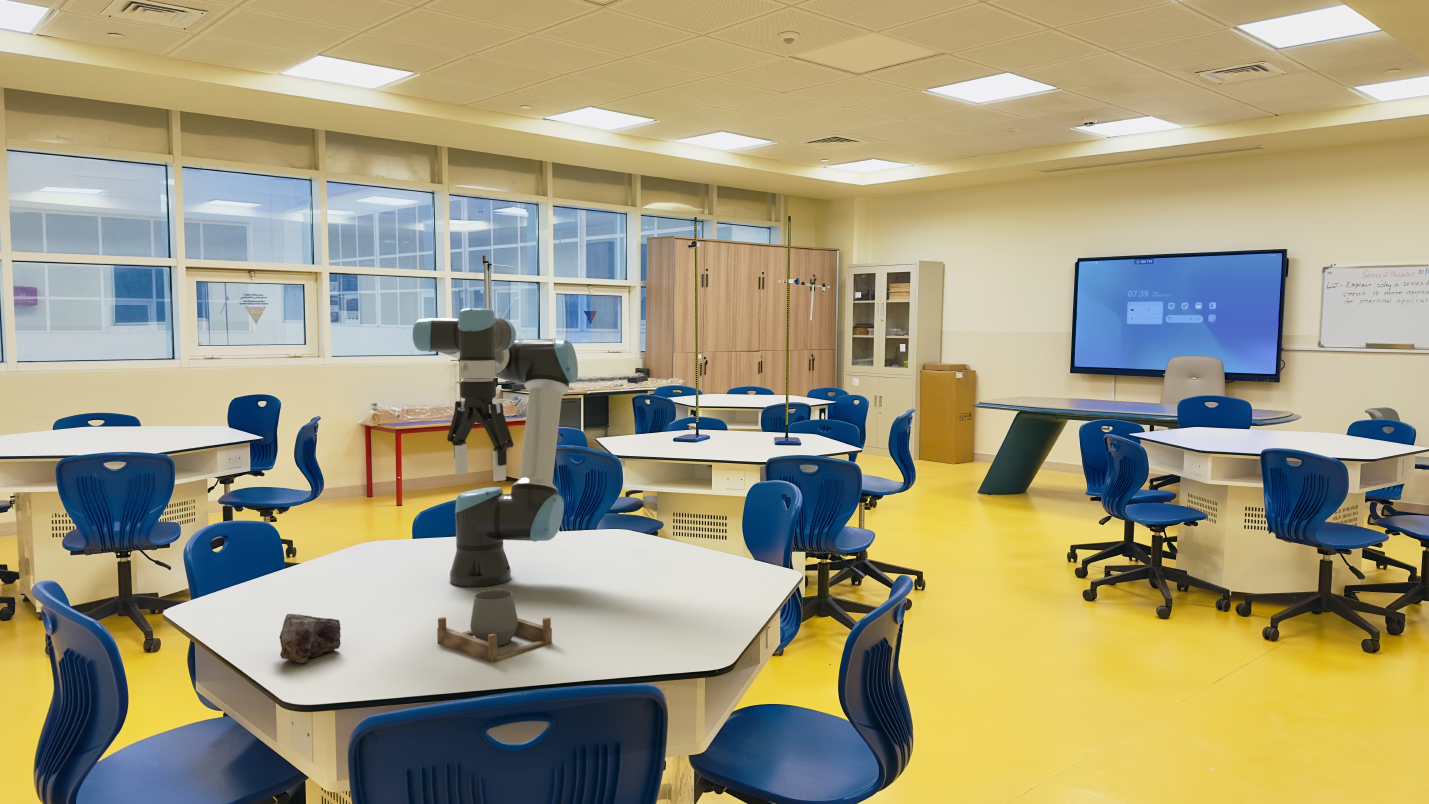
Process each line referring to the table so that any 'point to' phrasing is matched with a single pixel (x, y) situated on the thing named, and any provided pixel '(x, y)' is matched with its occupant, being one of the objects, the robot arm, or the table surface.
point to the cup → (494, 615)
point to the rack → (494, 639)
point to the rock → (308, 637)
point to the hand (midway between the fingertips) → (480, 477)
